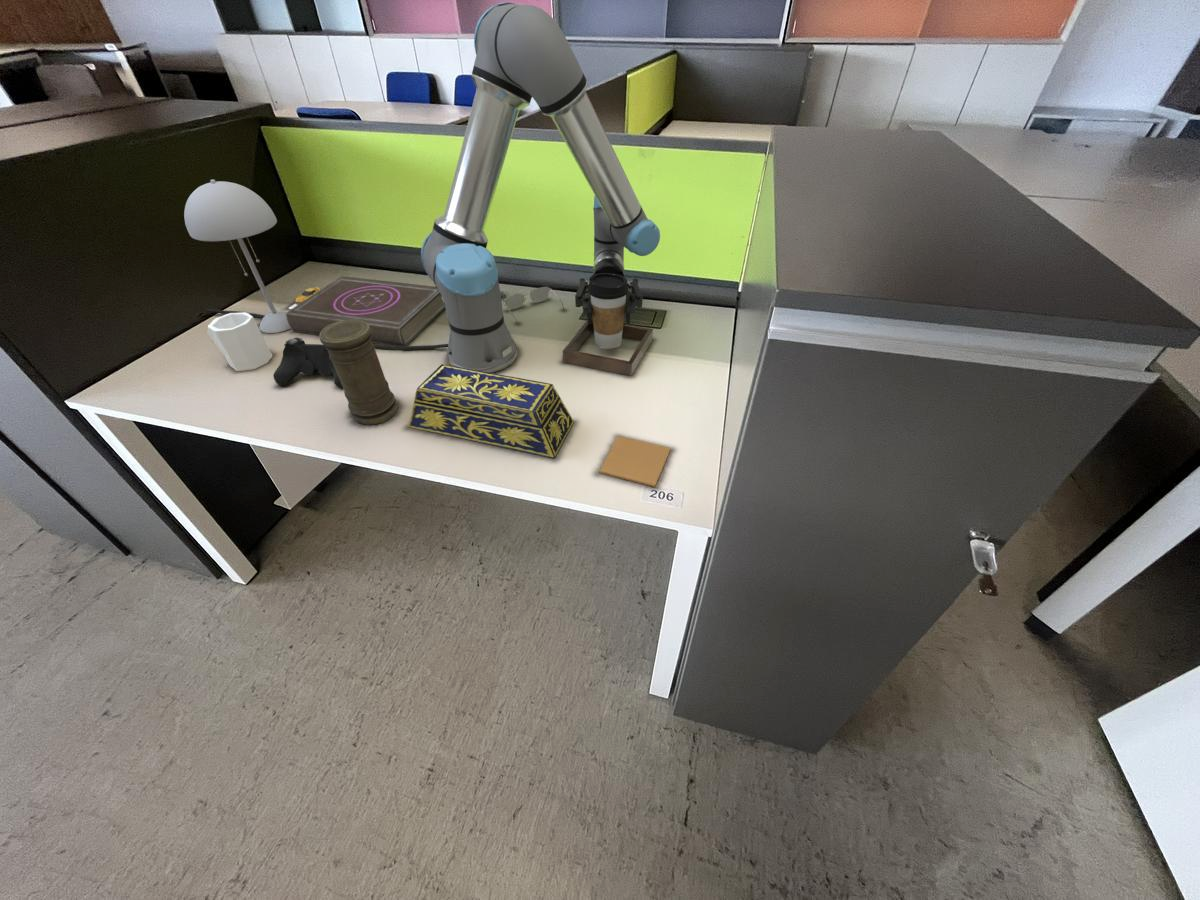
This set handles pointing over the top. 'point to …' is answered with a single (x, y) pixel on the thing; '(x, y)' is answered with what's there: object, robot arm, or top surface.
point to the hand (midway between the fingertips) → (608, 318)
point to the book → (370, 308)
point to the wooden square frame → (606, 362)
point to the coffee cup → (608, 308)
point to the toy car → (305, 296)
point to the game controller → (304, 362)
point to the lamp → (233, 228)
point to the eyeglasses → (519, 299)
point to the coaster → (635, 461)
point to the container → (359, 371)
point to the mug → (239, 341)
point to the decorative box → (492, 410)
